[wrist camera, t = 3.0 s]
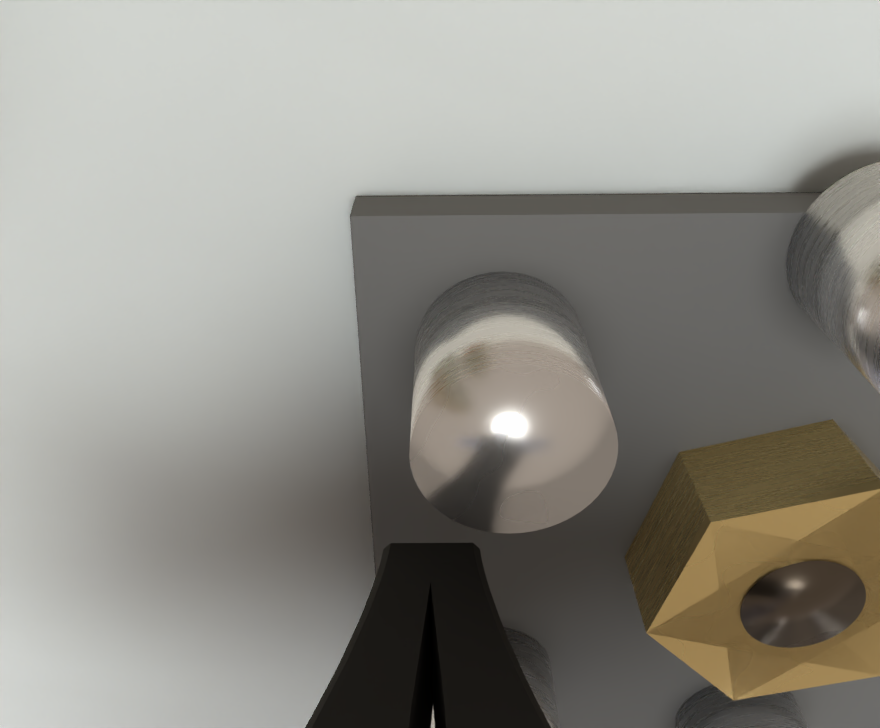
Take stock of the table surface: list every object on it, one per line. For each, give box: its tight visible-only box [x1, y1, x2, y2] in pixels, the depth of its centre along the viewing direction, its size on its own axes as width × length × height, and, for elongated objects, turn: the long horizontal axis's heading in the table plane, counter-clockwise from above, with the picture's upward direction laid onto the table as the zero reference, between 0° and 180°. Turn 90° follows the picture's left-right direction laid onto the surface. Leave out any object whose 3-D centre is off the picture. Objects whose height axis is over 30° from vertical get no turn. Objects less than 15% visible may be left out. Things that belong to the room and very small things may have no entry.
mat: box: [350, 193, 880, 728], centre depth 14 cm, size 15×13×1 cm
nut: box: [625, 419, 880, 701], centre depth 12 cm, size 4×5×2 cm
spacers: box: [409, 162, 880, 728], centre depth 12 cm, size 15×12×2 cm
